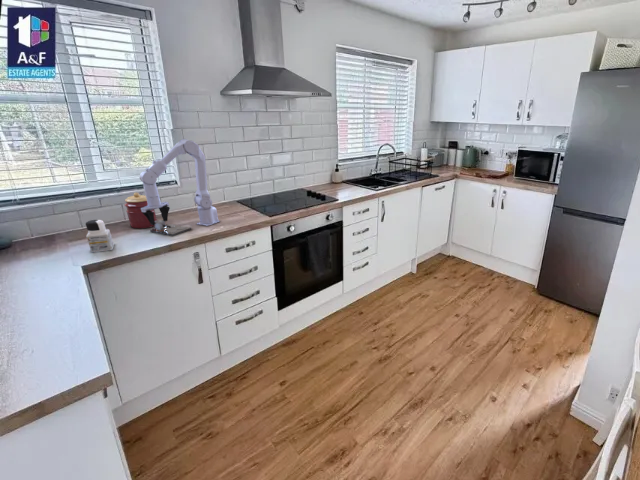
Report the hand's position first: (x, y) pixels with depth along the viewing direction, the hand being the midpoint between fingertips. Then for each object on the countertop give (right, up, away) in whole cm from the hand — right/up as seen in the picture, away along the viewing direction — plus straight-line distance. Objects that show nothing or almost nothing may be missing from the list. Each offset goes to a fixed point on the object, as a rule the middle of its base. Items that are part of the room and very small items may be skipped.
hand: (159, 222), depth 190 cm
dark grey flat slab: (+4, -4, +4) cm, 7 cm away
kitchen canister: (-14, 0, +10) cm, 18 cm away
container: (-13, -16, -22) cm, 30 cm away
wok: (+2, -4, +1) cm, 4 cm away
